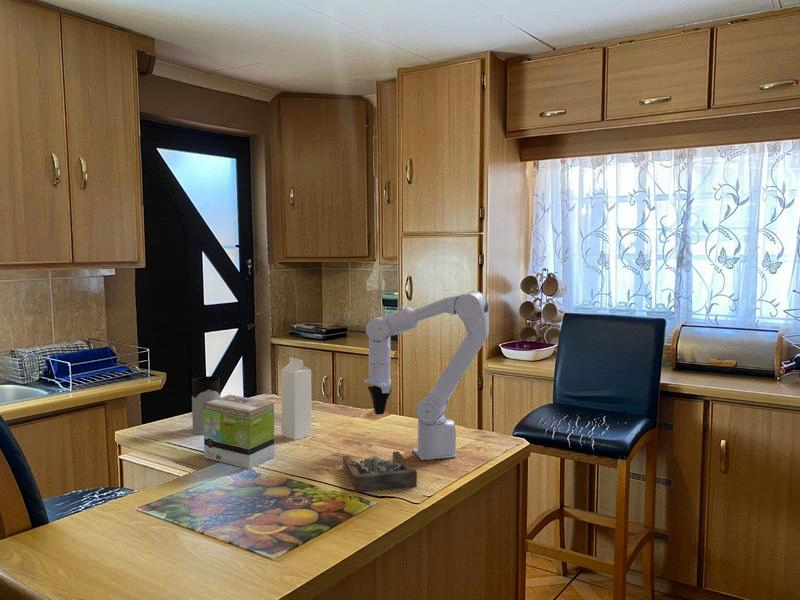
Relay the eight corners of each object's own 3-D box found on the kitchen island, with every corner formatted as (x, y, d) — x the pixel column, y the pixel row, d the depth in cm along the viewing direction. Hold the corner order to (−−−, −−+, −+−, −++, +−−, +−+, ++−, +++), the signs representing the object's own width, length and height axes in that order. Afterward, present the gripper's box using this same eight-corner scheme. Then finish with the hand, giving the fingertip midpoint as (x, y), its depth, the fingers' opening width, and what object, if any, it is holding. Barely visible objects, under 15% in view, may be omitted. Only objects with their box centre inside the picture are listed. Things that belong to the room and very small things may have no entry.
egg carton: (348, 476, 150) (348, 459, 149) (370, 467, 156) (370, 451, 155) (383, 487, 143) (383, 470, 143) (404, 478, 149) (404, 461, 148)
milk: (294, 440, 175) (294, 361, 173) (281, 435, 179) (280, 358, 177) (312, 435, 180) (311, 358, 177) (298, 431, 184) (297, 355, 181)
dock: (398, 463, 159) (398, 449, 158) (416, 486, 144) (416, 471, 143) (342, 468, 155) (342, 454, 154) (355, 492, 140) (355, 477, 140)
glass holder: (194, 436, 178) (192, 383, 176) (185, 423, 190) (184, 373, 189) (225, 432, 182) (224, 380, 180) (215, 419, 194) (214, 371, 193)
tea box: (202, 459, 160) (201, 402, 158) (230, 448, 169) (229, 393, 167) (249, 470, 153) (248, 410, 151) (276, 457, 162) (275, 400, 160)
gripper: (359, 358, 173) (358, 407, 174) (371, 369, 159) (370, 422, 161) (384, 357, 175) (383, 405, 176) (398, 368, 161) (397, 420, 162)
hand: (379, 413), depth 169 cm, fingers closed
